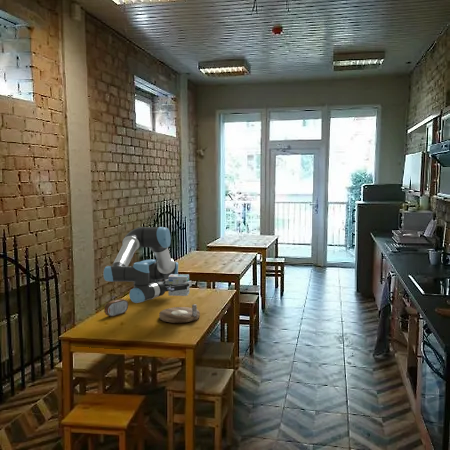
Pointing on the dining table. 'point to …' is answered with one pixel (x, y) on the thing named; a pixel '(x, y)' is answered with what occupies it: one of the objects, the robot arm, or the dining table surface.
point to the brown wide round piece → (180, 314)
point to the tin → (116, 307)
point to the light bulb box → (178, 280)
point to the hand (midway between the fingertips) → (182, 281)
